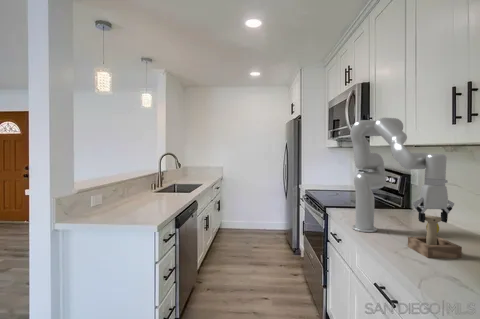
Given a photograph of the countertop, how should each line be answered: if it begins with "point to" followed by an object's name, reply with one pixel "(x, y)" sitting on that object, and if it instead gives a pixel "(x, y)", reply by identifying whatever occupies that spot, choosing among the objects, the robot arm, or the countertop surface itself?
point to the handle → (432, 229)
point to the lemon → (437, 227)
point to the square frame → (435, 248)
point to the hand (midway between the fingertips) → (432, 221)
